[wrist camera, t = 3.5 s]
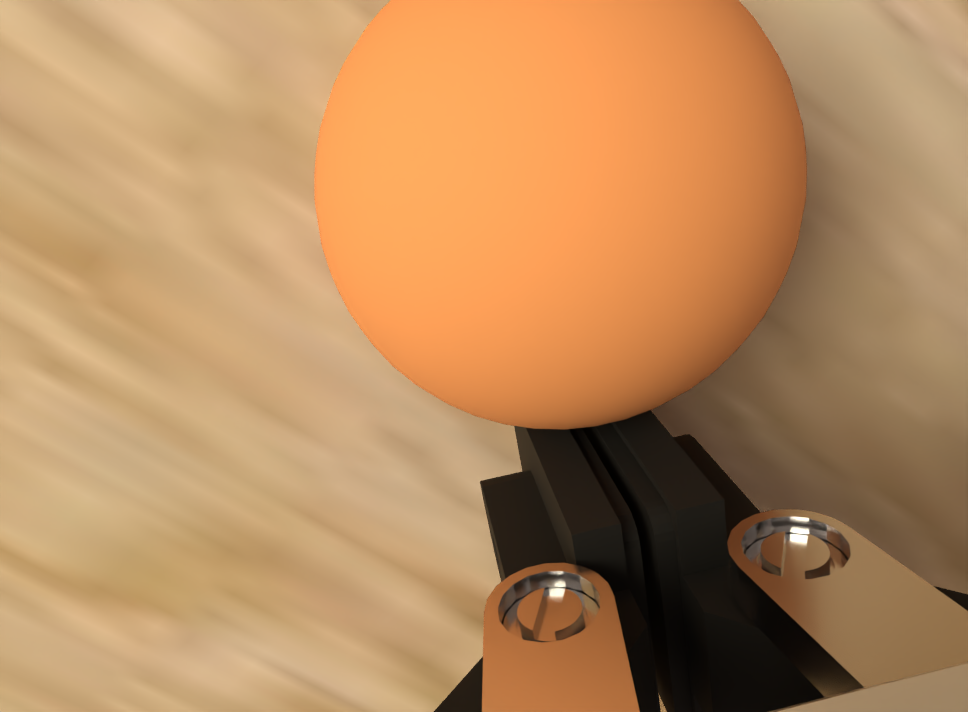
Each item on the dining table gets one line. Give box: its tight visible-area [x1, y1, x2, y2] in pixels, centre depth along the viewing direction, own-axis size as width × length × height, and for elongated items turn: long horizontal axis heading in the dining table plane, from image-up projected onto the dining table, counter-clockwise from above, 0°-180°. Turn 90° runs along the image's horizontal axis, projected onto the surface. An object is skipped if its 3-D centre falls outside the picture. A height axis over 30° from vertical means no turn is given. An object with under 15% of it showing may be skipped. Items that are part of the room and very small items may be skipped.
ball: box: [315, 0, 807, 429], centre depth 9 cm, size 6×6×6 cm
